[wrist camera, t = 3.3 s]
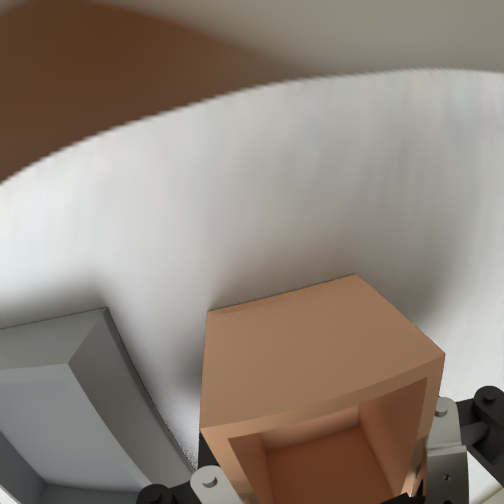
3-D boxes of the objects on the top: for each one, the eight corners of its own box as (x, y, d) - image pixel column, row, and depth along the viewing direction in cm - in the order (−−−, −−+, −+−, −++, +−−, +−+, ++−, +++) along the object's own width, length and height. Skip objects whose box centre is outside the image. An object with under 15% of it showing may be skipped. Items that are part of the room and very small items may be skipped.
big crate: (107, 307, 11) (67, 363, 8) (206, 486, 15) (206, 538, 11) (-54, 339, 11) (-89, 371, 7) (48, 481, 15) (35, 517, 11)
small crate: (356, 273, 12) (445, 353, 6) (363, 421, 14) (406, 503, 9) (207, 311, 12) (199, 428, 6) (257, 451, 14) (271, 544, 9)
